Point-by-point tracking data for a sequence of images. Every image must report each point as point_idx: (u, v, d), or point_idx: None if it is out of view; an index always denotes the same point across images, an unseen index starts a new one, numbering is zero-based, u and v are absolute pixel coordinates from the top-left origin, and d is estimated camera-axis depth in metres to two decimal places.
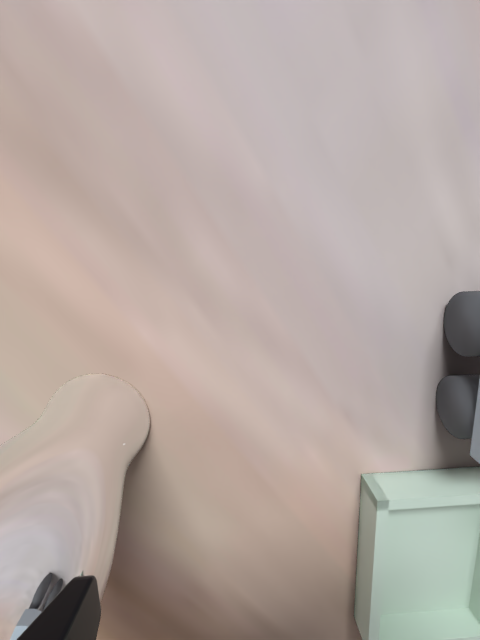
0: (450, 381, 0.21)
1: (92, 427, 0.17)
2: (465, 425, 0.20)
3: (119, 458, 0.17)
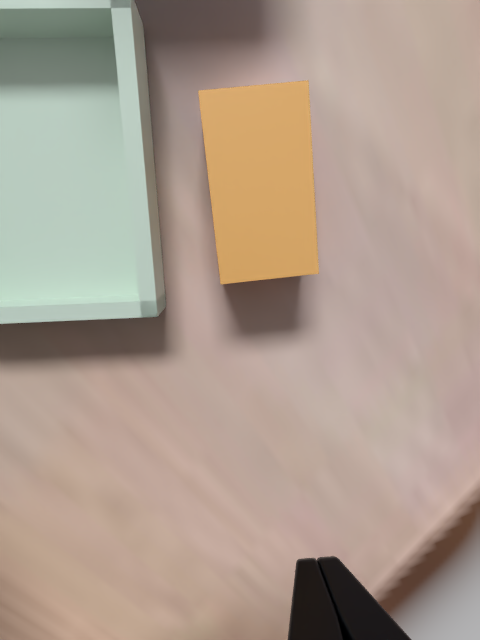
0: None
1: None
2: None
3: None
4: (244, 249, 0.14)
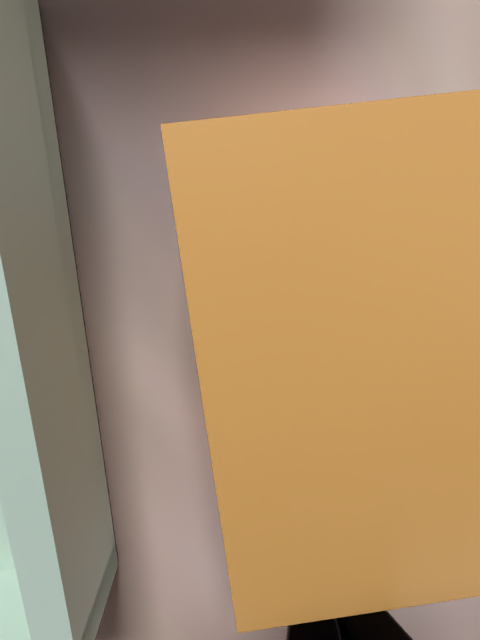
0: None
1: None
2: None
3: None
4: (302, 551, 0.05)
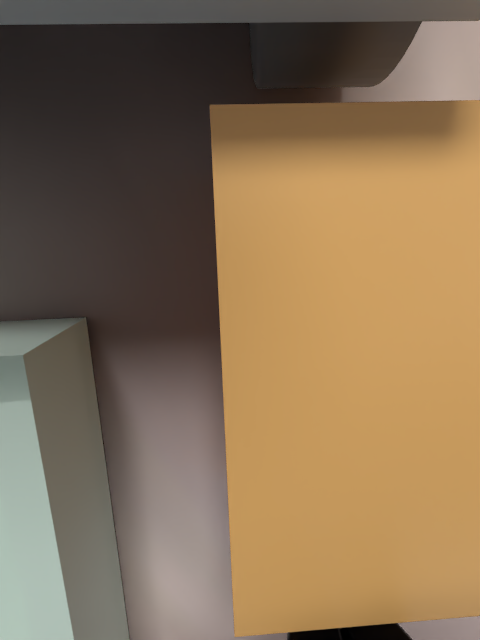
0: None
1: None
2: None
3: None
4: (309, 558, 0.05)
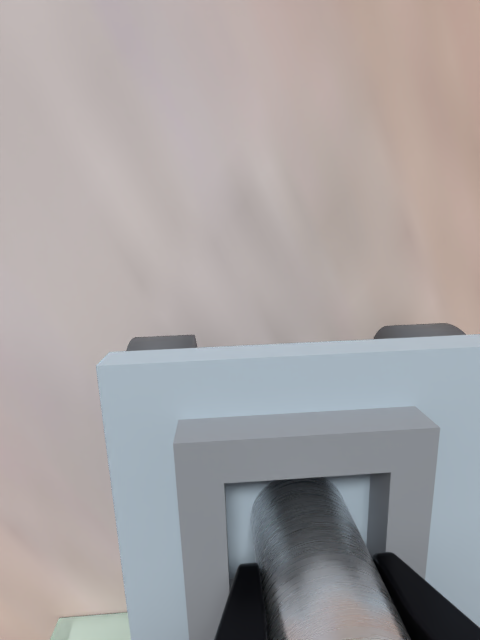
0: None
1: None
2: None
3: None
4: None
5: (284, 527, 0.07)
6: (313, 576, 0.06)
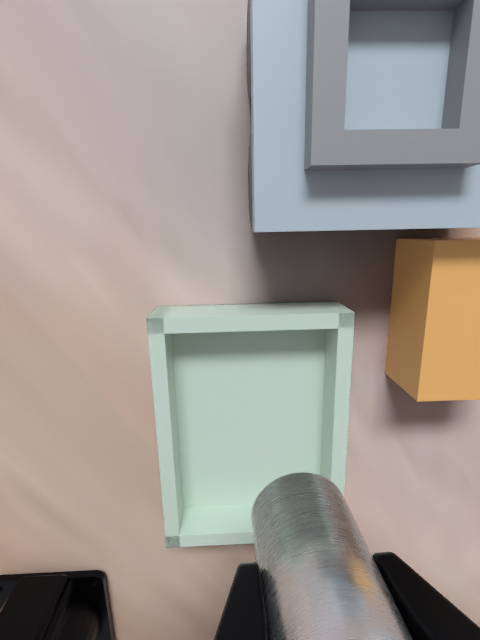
0: (249, 148, 0.15)
1: None
2: None
3: None
4: (444, 373, 0.16)
5: (285, 527, 0.07)
6: (314, 576, 0.06)
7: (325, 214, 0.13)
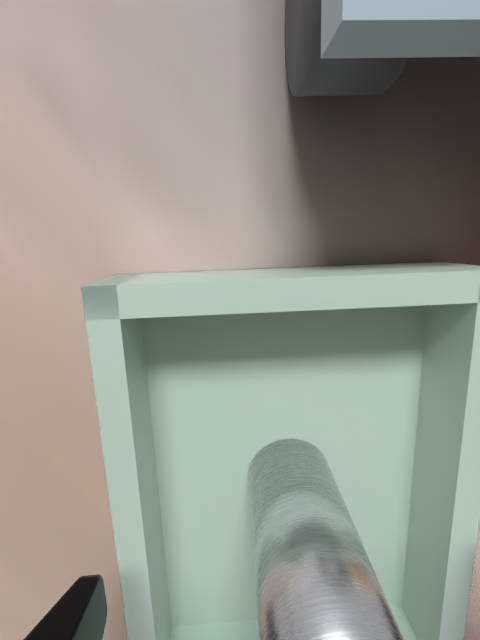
0: None
1: None
2: None
3: None
4: None
5: (273, 478, 0.09)
6: (293, 511, 0.08)
7: None
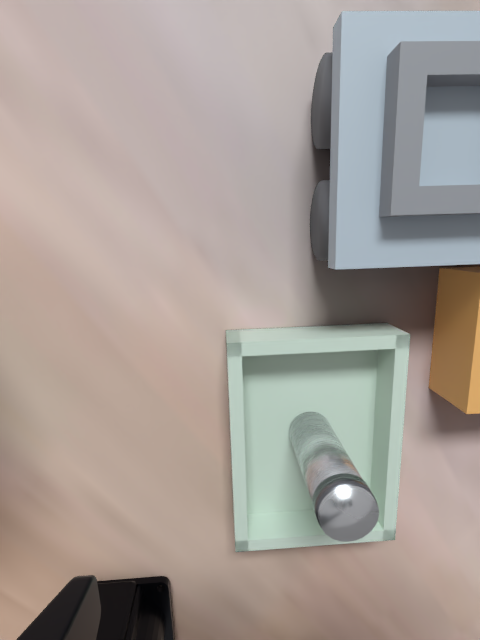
0: (316, 192, 0.17)
1: None
2: (326, 234, 0.16)
3: None
4: None
5: (304, 428, 0.19)
6: (316, 438, 0.18)
7: (396, 253, 0.15)
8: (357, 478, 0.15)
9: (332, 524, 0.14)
